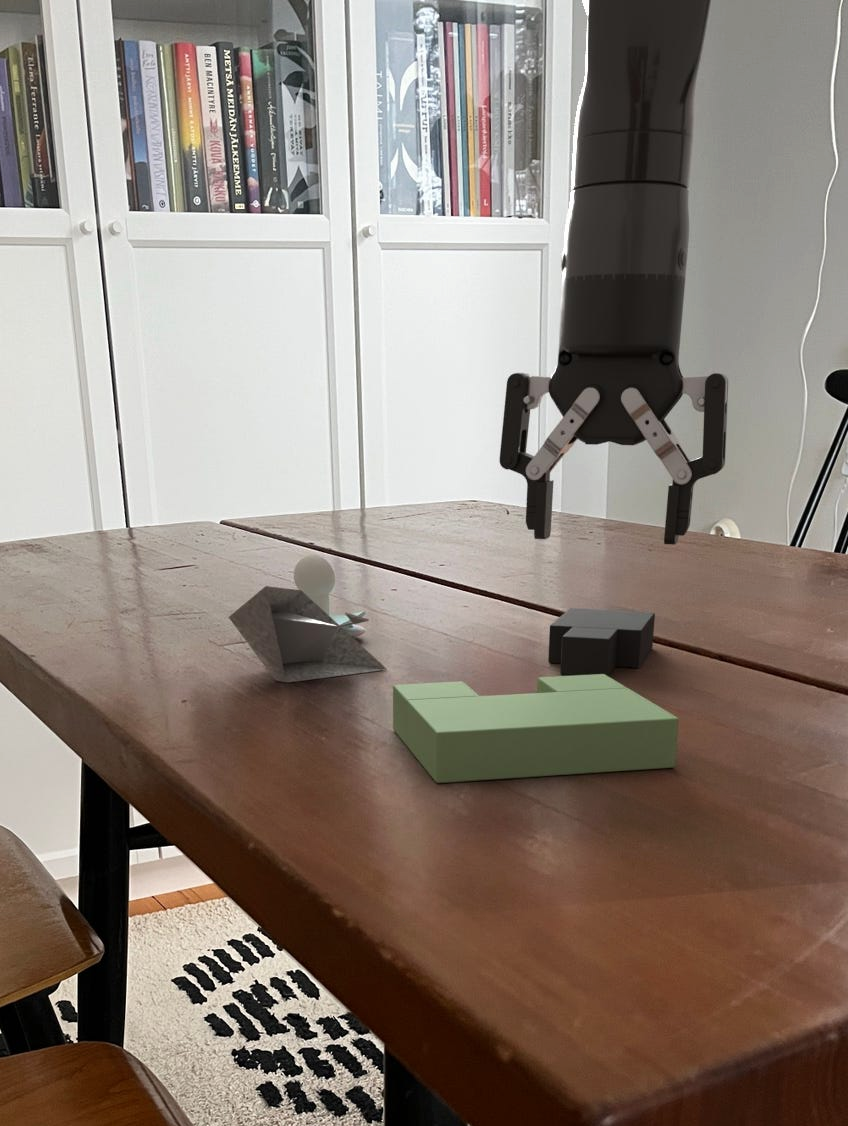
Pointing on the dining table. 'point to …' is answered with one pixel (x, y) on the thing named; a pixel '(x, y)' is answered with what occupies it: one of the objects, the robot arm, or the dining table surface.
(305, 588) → the pacifier
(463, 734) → the green pad
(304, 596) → the paper boat
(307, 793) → the dining table surface
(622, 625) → the black pad
